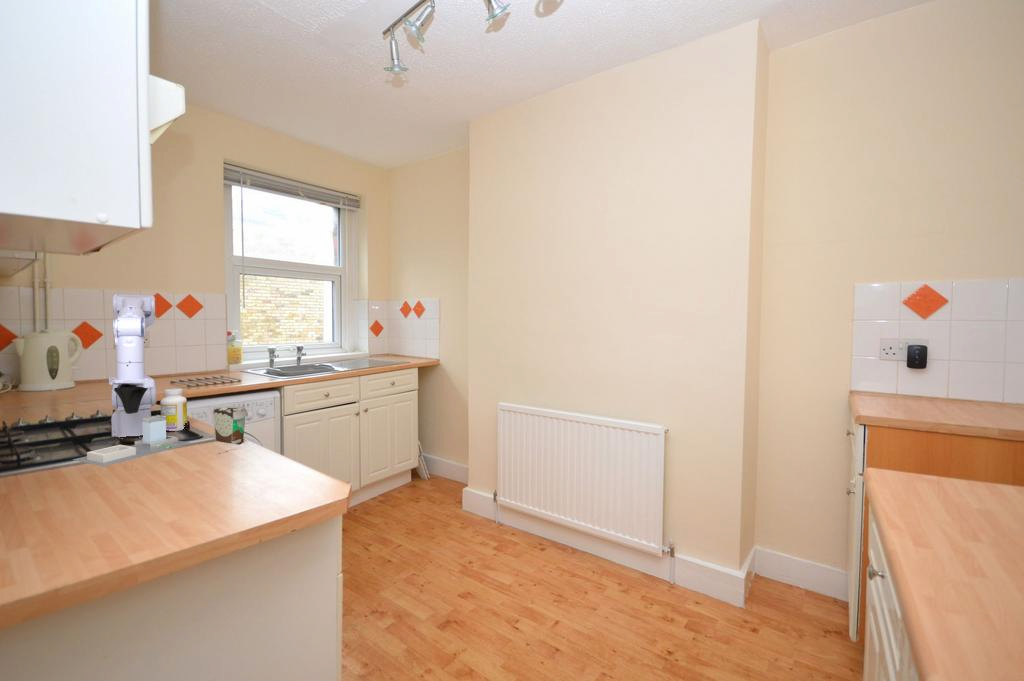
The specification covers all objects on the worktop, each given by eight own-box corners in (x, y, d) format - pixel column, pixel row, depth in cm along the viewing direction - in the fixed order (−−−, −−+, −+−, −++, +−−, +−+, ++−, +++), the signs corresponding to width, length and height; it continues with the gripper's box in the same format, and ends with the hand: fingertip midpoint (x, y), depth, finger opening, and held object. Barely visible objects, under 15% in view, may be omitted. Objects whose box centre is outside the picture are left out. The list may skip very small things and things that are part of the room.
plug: (142, 447, 121) (142, 418, 120) (158, 443, 125) (158, 415, 124) (150, 448, 120) (149, 419, 120) (166, 444, 124) (165, 416, 123)
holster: (87, 459, 111) (86, 452, 110) (120, 451, 117) (120, 444, 117) (103, 462, 109) (103, 455, 108) (136, 454, 115) (135, 447, 115)
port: (134, 447, 120) (134, 441, 120) (162, 441, 127) (162, 434, 127) (155, 451, 118) (155, 444, 118) (183, 444, 125) (183, 438, 124)
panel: (72, 463, 110) (72, 459, 110) (162, 441, 130) (162, 438, 130) (104, 470, 106) (104, 466, 106) (192, 446, 126) (192, 443, 126)
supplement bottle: (181, 426, 147) (180, 387, 146) (191, 429, 144) (190, 389, 143) (156, 430, 141) (156, 389, 141) (167, 433, 138) (166, 392, 137)
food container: (256, 443, 131) (256, 409, 131) (234, 448, 126) (234, 412, 125) (234, 436, 138) (234, 403, 137) (212, 440, 132) (212, 406, 132)
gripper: (94, 362, 118) (96, 413, 119) (132, 364, 113) (133, 418, 114) (125, 360, 125) (126, 408, 125) (161, 362, 120) (162, 413, 120)
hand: (131, 413), depth 120 cm, fingers closed
